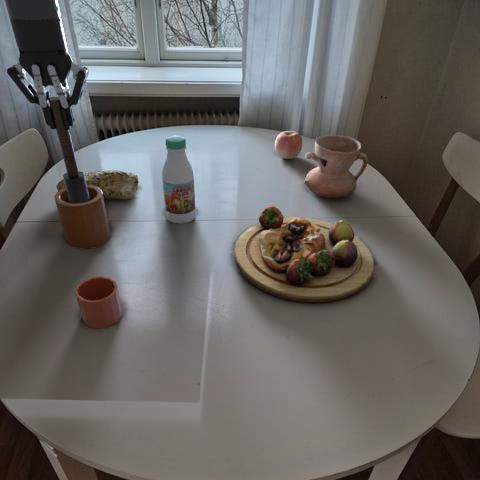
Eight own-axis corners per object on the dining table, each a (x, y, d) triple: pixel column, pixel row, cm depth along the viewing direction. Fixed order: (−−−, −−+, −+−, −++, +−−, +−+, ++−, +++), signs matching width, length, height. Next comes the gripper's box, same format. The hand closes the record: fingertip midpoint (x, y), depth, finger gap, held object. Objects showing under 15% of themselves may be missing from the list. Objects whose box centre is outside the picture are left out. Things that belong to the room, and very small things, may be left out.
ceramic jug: (304, 203, 119) (312, 153, 110) (296, 180, 130) (302, 132, 120) (367, 203, 121) (380, 153, 111) (354, 180, 131) (365, 133, 121)
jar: (60, 248, 100) (48, 205, 92) (73, 225, 107) (62, 183, 100) (105, 249, 100) (95, 206, 92) (114, 226, 107) (106, 185, 100)
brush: (66, 202, 87) (39, 101, 74) (72, 193, 90) (47, 94, 77) (86, 203, 87) (63, 102, 74) (91, 193, 90) (69, 95, 77)
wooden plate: (216, 234, 106) (216, 204, 101) (330, 216, 115) (336, 187, 109) (263, 319, 84) (266, 286, 79) (400, 289, 93) (412, 257, 87)
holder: (78, 330, 80) (69, 301, 76) (89, 303, 86) (81, 275, 81) (118, 331, 81) (112, 302, 76) (126, 304, 86) (120, 276, 81)
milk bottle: (159, 216, 112) (151, 138, 98) (182, 206, 116) (177, 130, 102) (178, 227, 108) (172, 148, 94) (201, 217, 112) (199, 139, 98)
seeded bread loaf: (139, 190, 124) (68, 174, 121) (140, 168, 118) (65, 150, 115) (129, 221, 116) (53, 204, 113) (130, 198, 110) (49, 179, 107)
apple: (304, 161, 140) (307, 136, 135) (278, 163, 139) (280, 138, 133) (294, 151, 147) (297, 126, 141) (270, 152, 145) (272, 128, 139)
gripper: (-22, 15, 64) (16, 134, 76) (72, 18, 64) (95, 136, 76) (-2, 8, 70) (31, 120, 81) (85, 11, 70) (104, 122, 82)
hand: (62, 127), depth 79 cm, fingers closed on brush, 2 cm apart
